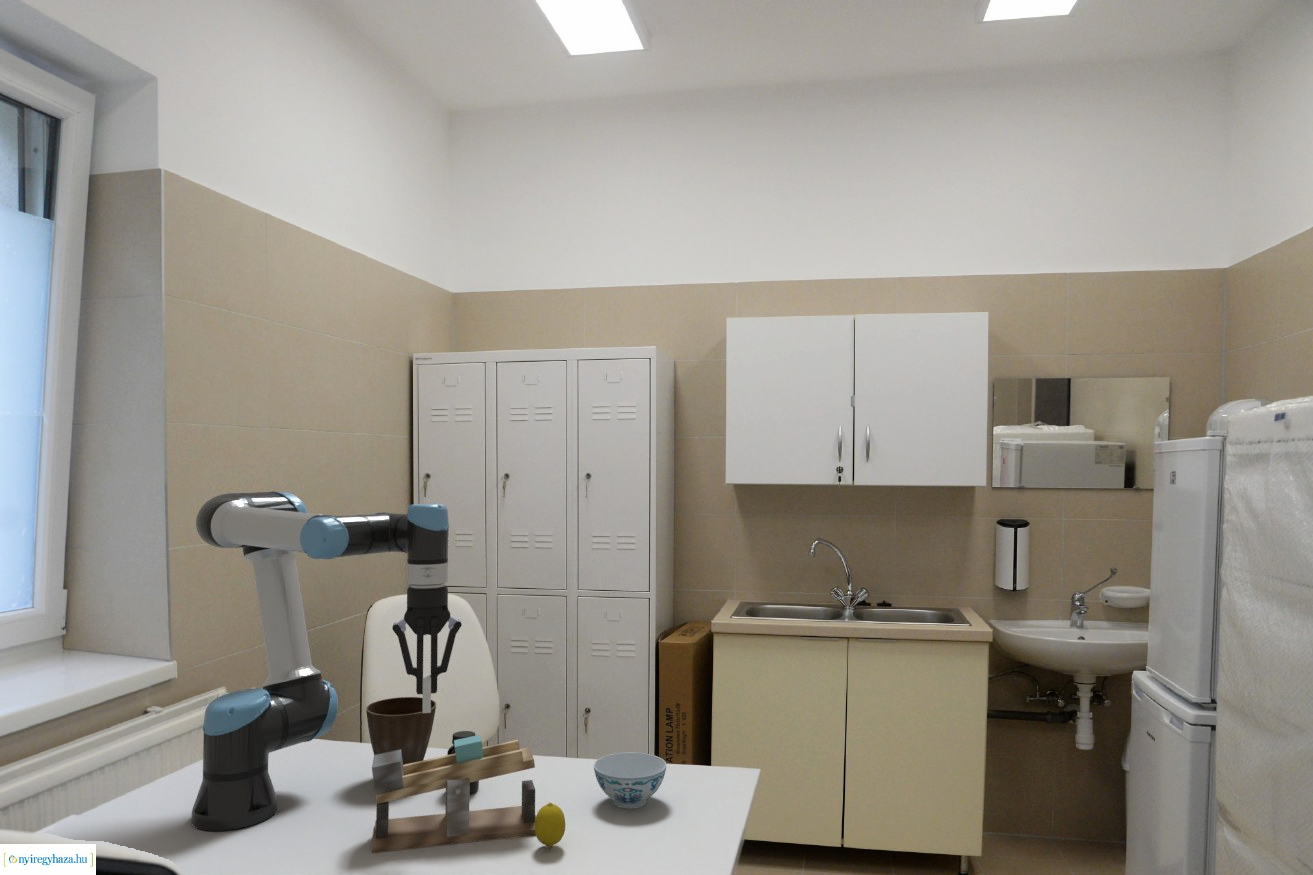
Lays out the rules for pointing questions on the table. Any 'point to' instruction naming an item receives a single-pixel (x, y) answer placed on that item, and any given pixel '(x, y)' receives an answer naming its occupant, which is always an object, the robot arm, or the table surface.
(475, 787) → the supplement bottle
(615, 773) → the chinaware
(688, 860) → the table surface
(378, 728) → the plant pot
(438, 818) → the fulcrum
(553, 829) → the lemon
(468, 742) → the block
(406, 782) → the beam
